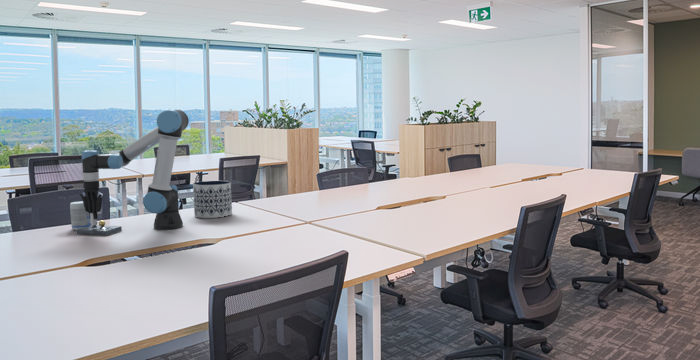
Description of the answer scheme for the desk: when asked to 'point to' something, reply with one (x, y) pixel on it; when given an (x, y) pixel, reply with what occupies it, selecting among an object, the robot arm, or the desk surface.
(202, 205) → the planter
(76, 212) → the supplement tub
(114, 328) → the desk surface
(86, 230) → the plate
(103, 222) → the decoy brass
